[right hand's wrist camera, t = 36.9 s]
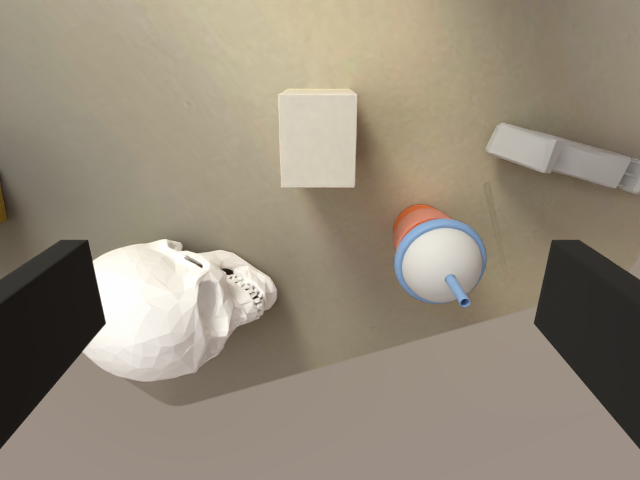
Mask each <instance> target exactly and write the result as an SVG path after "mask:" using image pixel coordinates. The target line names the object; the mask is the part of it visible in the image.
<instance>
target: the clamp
mask: <svg viewBox="0 0 640 480" xmlns="http://www.w3.org/2000/svg"><path fill="white" fill-rule="evenodd" d="M485 151H486V152H487V154H489V155H491V156H494V157H498V158H501V159H504V160H507V161H510V162H513V163H516V164H519V165H521V166H524V167H527V168H530V169H533V170H536V171H539V172H542V173H548V174H551V171H553V172H556V173H560V174H564V175H567V176H571V177H574V178H578V179H582V180H585V181H589V182H592V183H595V184H598V185H602V186H605V187H608V188H616V187H618V188H619V189H621V190H623V191H625V192H628V193H630V194H635V195H640V160H639V159H635V158H630V157H629V156H627V155H623V154H620V153H616V152H613V151H609V150H605V149H602V148H598V147H594V146H591V145H587V144H583V143H580V142H576V141H572V140H569V139H565V138H561V137H558V136H554V135H551V134H547V133H543V132H540V131H536V130H535V131H532V130H529V129H525V128H522V127H518V126H515V125H511V124H508V123H504V122H503V123H500V124H498V125H497V126H496V127H495V129H494V132H493V134H492V136H491V138H490V140H489V143H488V145H487V147H486V149H485Z"/></svg>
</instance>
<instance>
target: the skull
mask: <svg viewBox="0 0 640 480" xmlns="http://www.w3.org/2000/svg"><path fill="white" fill-rule="evenodd" d="M182 248H183V245H182V244H181V243H180V242H176V241H170V240H168V239H163V240H158V241H155V242H151V243H146V244H136V245H130V246H126V247H122V248H118V249H115V250H112V251H110V252H108V253H105V254H103V255H101V256H100V257H98V258H97V259H95V260H94V261H93V265H94V270H95V275H96V279H97V284H98V289H99V293H100V298H101V302H102V307H103V312H104V316H105V321H106V324H105V325H104V327H103V328H102V329H101V330H100V331H99V332H98V334H97V335H96V336H95V337H94V338H93V340H92V341H91V342H90V343H89V344H88V345H87V347H86V348H85V349H84V350H83V351H82V352H83V353H84V354H85V355H86V356H87V357H88V358H90V359H91V360H92V361H93V362H94V363H95V364H97V365H98V366H99V367H101V368H102V369H104V370H105V371H107V372H109V373H111V374H113V375H116V376H120V377H123V378H128V379H132V380H137V381H144V382H147V381H157V380H164V379H171V378H176V377H179V376H182V375H185V374H190V373H194V372H197V370H198V368H199V367H201V366H202V365H203V364H204V363H206V362H207V361H208V360H210V359H212V358H213V357H215V356H217V355H218V354H219V353H220V352H221V350H222V349H223V348H224V344H225V342H226V340H227V339H228V337H229V336H230V335H231V334H232V332H233V331H234V330H235V329H236V328H237V327H238V326H240V325H243V324H247V323H249V322H252V321H253V320H257V319H259V318H260V316H261V315H263V312H264V310H268V309H270V308H271V307H272V305H273V304H274V303H275V301H276V299H277V289H276V287H275V284H274V282H273V281H272V280H271V278H270V277H269V276H267V275H266V274H264V273H263V272H261V271H259V270H258V269H256V268H255V267H253V266H252V265H250V264H249V263H247V262H246V261H244V260H243V259H241V258H240V257H239V256H237V255H236V254H234V253H231V252H228V251H223V250H217V251H212V252H206V253H197V254H196V253H193V252H190V251H182ZM190 261H192V262H195V263H197V264H201V265H203V268H200V267H199V266H198V265H196V264H194V263H192V262H190ZM220 268H222V269H230V270H232V271H233V274H232V275H226V272H224V271H222V270H221V269H220ZM235 277H237V278H235ZM242 286H243V287H242ZM252 288H253V289H254V290H253V289H252ZM245 289H249V290H247V291H246V290H245ZM250 293H252V294H251V295H250ZM257 293H258V297H259V298H256V299H254V300H253V299H252V298H253V297H254V296H256V295H257ZM260 298H261V300H260Z"/></svg>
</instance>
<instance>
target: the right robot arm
mask: <svg viewBox="0 0 640 480" xmlns="http://www.w3.org/2000/svg"><path fill="white" fill-rule="evenodd" d="M105 324H106V321H105V316H104V312H103V307H102V302H101V298H100V293H99V289H98V284H97V279H96V275H95V270H94V265H93V261H92V256H91V252H90V247H89V242H88V240H60V241H59V242H57V243H56V244H54V245H52V246H51V247H49V248H48V249H46V250H45V251H43V252H42V253H40V254H39V255H37V256H36V257H34V258H33V259H31V260H30V261H28V262H27V263H25V264H24V265H22V266H21V267H19V268H17V269H16V270H14V271H13V272H11V273H10V274H8V275H7V276H5V277H4V278H2V279H1V280H0V449H1V447H2V446H3V445H4V444H5V443H6V442H7V440H8V439H9V438H10V437H11V436H12V434H13V433H14V432H15V431H16V430H17V428H18V427H19V426H20V425H21V424H22V423H23V421H24V420H25V419H26V418H27V417H28V415H29V414H30V413H31V412H32V411H33V409H34V408H35V407H36V406H37V405H38V404H39V402H40V401H41V400H42V399H43V398H44V396H45V395H46V394H47V393H48V392H49V391H50V389H51V388H52V387H53V386H54V385H55V383H56V382H57V381H58V380H59V379H60V377H61V376H62V375H63V374H64V373H65V372H66V370H67V369H68V368H69V367H70V366H71V364H72V363H73V362H74V361H75V360H76V359H77V357H78V356H79V355H80V354H81V353H82V351H83V350H84V349H85V348H86V347H87V345H88V344H89V343H90V342H91V341H92V340H93V338H94V337H95V336H96V335H97V334H98V332H99V331H100V330H101V329H102V328H103V327H104V325H105ZM534 324H535V325H536V327H537V328H538V329H539V330H540V331H541V332H542V334H543V335H544V336H545V337H546V338H547V340H548V341H549V342H550V343H551V344H552V345H553V347H554V348H555V349H556V350H557V351H558V353H559V354H560V355H561V356H562V357H563V359H564V360H565V361H566V362H567V363H568V364H569V366H570V367H571V368H572V369H573V370H574V372H575V373H576V374H577V375H578V376H579V377H580V379H581V380H582V381H583V382H584V383H585V385H586V386H587V387H588V388H589V389H590V391H591V392H592V393H593V394H594V395H595V396H596V398H597V399H598V400H599V401H600V402H601V404H602V405H603V406H604V407H605V408H606V410H607V411H608V412H609V413H610V414H611V415H612V417H613V418H614V419H615V420H616V421H617V423H618V424H619V425H620V426H621V427H622V428H623V430H624V431H625V432H626V433H627V434H628V436H629V437H630V438H631V439H632V440H633V442H634V443H635V444H636V445H637V446H638V447H639V449H640V280H639V279H638V278H636V277H635V276H633V275H632V274H630V273H629V272H627V271H626V270H624V269H623V268H621V267H619V266H618V265H616V264H615V263H613V262H612V261H610V260H609V259H607V258H606V257H604V256H603V255H601V254H600V253H598V252H597V251H595V250H594V249H592V248H591V247H589V246H587V245H586V244H584V243H583V242H581V241H580V240H552V242H551V247H550V252H549V256H548V261H547V265H546V270H545V275H544V279H543V284H542V289H541V293H540V298H539V302H538V307H537V312H536V316H535V321H534Z"/></svg>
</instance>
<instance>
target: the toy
mask: <svg viewBox="0 0 640 480" xmlns="http://www.w3.org/2000/svg"><path fill="white" fill-rule="evenodd" d="M6 220H7V215H6V210H5V205H4V199H3V194H2V189H1V184H0V223H2V222H4V221H6Z"/></svg>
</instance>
